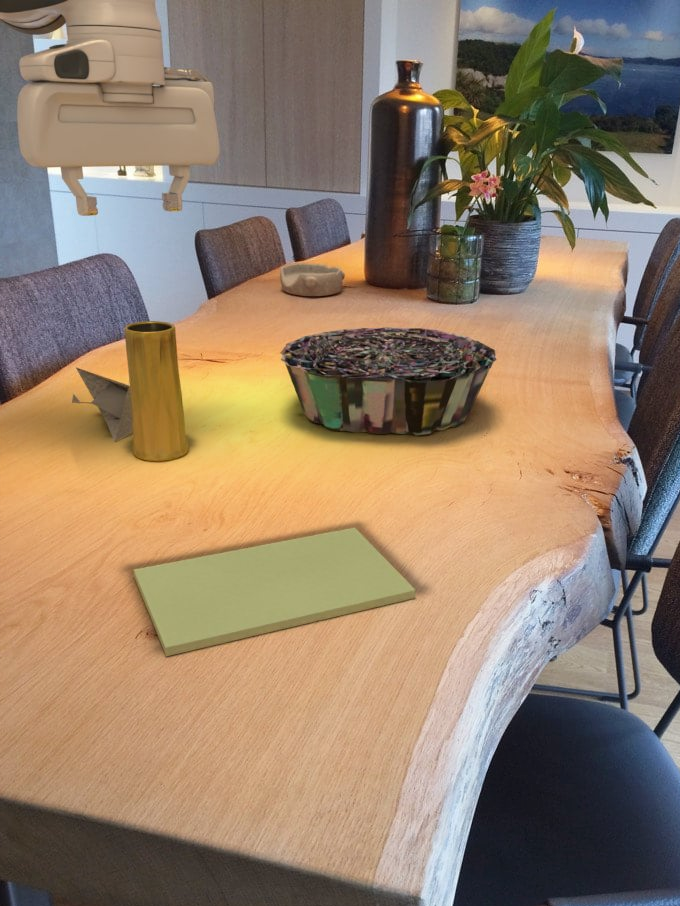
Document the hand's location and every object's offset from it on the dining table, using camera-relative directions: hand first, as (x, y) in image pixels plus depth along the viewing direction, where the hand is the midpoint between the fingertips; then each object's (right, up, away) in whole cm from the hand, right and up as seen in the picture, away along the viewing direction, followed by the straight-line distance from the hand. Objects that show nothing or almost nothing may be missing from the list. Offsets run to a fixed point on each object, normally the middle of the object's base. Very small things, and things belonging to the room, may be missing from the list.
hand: (131, 212), depth 87 cm
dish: (+12, +15, +93) cm, 95 cm away
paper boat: (-7, -21, +14) cm, 26 cm away
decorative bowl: (+27, -19, +21) cm, 39 cm away
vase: (+1, -25, +7) cm, 26 cm away
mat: (+17, -37, -19) cm, 45 cm away
